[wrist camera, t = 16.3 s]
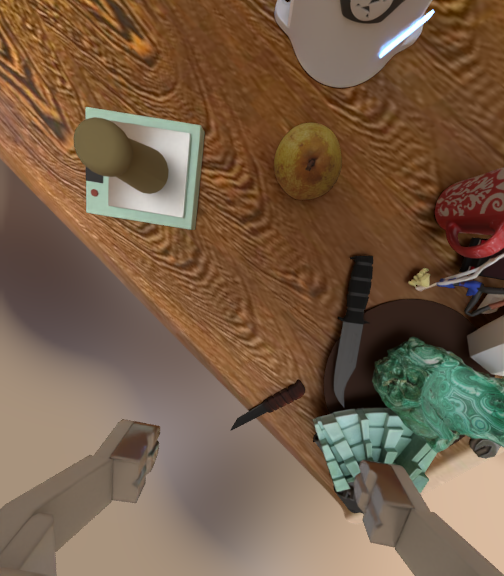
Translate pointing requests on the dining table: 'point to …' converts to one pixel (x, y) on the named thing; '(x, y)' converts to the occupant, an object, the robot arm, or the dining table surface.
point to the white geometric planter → (489, 340)
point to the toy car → (497, 270)
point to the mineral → (440, 394)
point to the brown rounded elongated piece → (119, 155)
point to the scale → (99, 205)
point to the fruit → (308, 161)
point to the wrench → (487, 450)
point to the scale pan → (177, 159)
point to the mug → (474, 213)
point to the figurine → (474, 286)
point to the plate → (391, 333)
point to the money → (371, 444)
